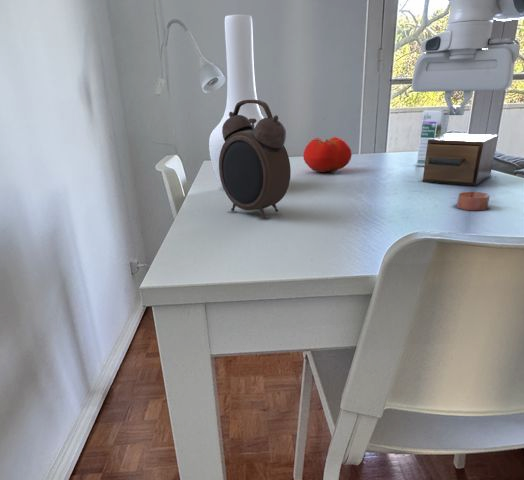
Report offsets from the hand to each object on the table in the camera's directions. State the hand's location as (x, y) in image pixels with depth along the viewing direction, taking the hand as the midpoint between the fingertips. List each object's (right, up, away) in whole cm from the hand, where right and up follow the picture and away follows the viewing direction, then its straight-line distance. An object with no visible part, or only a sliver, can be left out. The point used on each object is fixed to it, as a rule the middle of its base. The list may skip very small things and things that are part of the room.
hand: (455, 115), depth 104 cm
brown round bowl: (-1, -24, -11) cm, 26 cm away
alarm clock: (-44, -25, -10) cm, 52 cm away
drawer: (+4, -10, +11) cm, 15 cm away
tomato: (-25, -2, +29) cm, 39 cm away
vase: (-47, -12, +13) cm, 50 cm away
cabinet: (+7, -9, +15) cm, 18 cm away
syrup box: (+6, +2, +34) cm, 35 cm away
